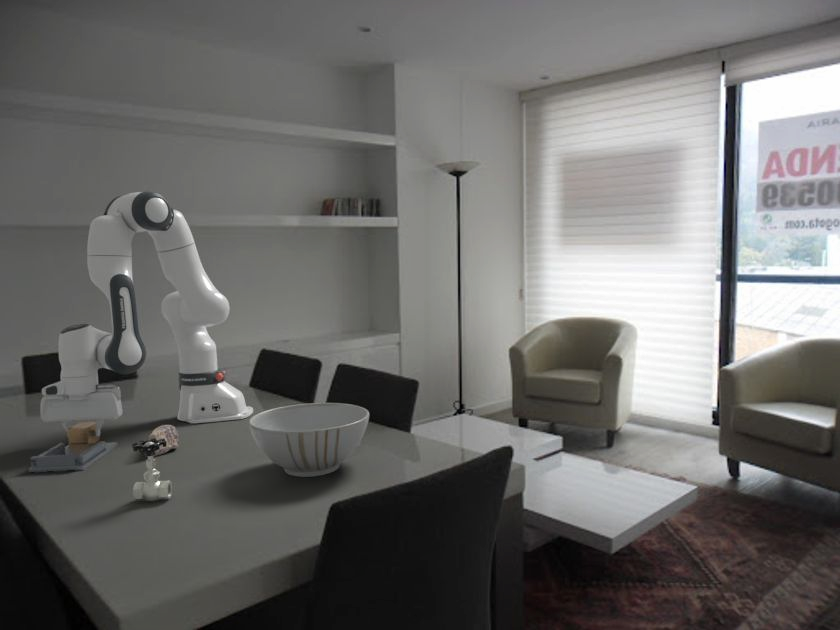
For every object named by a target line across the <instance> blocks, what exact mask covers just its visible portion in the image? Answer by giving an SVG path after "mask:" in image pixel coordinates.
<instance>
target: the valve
mask: <svg viewBox="0 0 840 630" xmlns="http://www.w3.org/2000/svg"><path fill="white" fill-rule="evenodd" d="M154 443H155V444H154ZM161 445H163V447H166V446H167V442H166V441H165V439H164V438H163V439H159V440H157V438H152V439H151V440H146V439H140V440H139V442H132V443H131V447H132V451H133V452H139V453H140V454H144V457H147V459H146V460H145V467H146V468H147V470H146V471H145V472H144V473H143V480H145V481H140V482H139V481H136V482H135V483H134V485H133V489H132V497H133V499H134V501H137V502H141V501H146V502H147V501H148V502H156V501H159V500H160V499H161V500H169V499H171V497H172V494H173V485H172V484H173V483H172V481H171V480H159V478H160V475H161V474H160V473H161V472H160V471H159V470H157V469H156V468H155V467H157V463H156V459H155V458H154V457H153V455H155V454H156V453H155V451H157V450H159V449H160V446H161Z"/></svg>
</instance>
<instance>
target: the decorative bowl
mask: <svg viewBox="0 0 840 630" xmlns="http://www.w3.org/2000/svg"><path fill="white" fill-rule="evenodd" d="M369 420H370V412H369V410H368V409H366V408H365V407H362V406H359V405H355V404H349V403H341V402H314V403H300V404H293V405H292V404H290V405H286V406H285V405H284V406H280V407H275V408H271V409H268V410H264V411H261V412H258V413H257V414H255V415H252V416H251V417H250V419H249V420H248V428H249V430H250V433H251V435H252V437H253V440H254V441H255V443H256V445H257V446H258V448H259V449H260V451H261V452H262V453H263V454H264V455H265V456H266V457H267V458H268V459H269V460H270V461H272V462H273V463H274V464H275V465H277V466H279V467H282V468H283V469H284V472H285V473H286V474H288V475H290V476H294V477H300V478H301V477H303V478H304V477H305V478H307V477H308V478H309V477H319V476H325V475H328V474H331V473H334V472H335V471H337V470H338V469H339V468H340V466H341V465H340V463H343V462H344V461H345V460H346V459H348V458H349V457H350V456H351V455H352V454H353V453H354V451H355V450H356V449H357V448H358V447H359V445H360V443H361V441H362V439H363V437H364V436H365V433H366V430H367V427H368V424H369Z"/></svg>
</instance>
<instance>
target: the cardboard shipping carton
mask: <svg viewBox="0 0 840 630" xmlns="http://www.w3.org/2000/svg"><path fill="white" fill-rule="evenodd" d="M96 427H97V424H95V421H88V422H87V421H86V422H85V421H81V422H78V423H77V424H74V425H73V426H71V428H69V429H68V437H67V438H68V439H67V440H68V445H69V444H90V443H98V442H99V441H101V438H100V436H101V435H100V436H94V437H93V436H92V430H94V429H96Z"/></svg>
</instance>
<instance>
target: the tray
mask: <svg viewBox="0 0 840 630" xmlns="http://www.w3.org/2000/svg"><path fill="white" fill-rule="evenodd" d="M118 446H119V445H118V442H114V441H113V442H106V440H105V441H103V440H99V441H97V442H95V443H90V444H69V443H68V445H66V444H65V442H60V443H58V444H56V445H54V446H52V447H51V448H49V449H46V450H45V451H44V452H42V453H40V454H39V455H35V456H31V457H30V467H28V474H30V472H34V473H48V472H47V471H54V472H68V471H67V470H75V471H85V470H86V469H87V468H88V467H90V466H92V465H93V464H95V463H96V462H98V461H99V460H100V459H101V458H103V457H104V456H105V455H107V454H108V453H110V452H111V451H113V450H114V449H115V448H117V447H118ZM98 459H99V460H98ZM95 461H96V462H95Z"/></svg>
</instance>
